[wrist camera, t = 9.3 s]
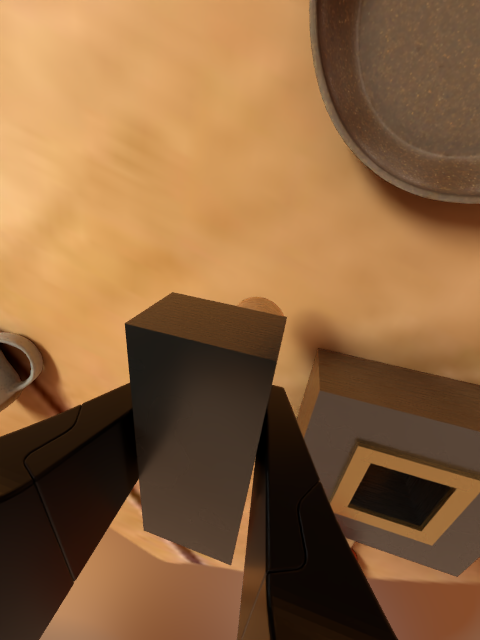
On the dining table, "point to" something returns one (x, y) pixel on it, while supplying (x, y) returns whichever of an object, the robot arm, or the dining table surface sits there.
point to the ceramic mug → (3, 381)
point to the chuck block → (397, 457)
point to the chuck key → (200, 413)
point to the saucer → (404, 89)
